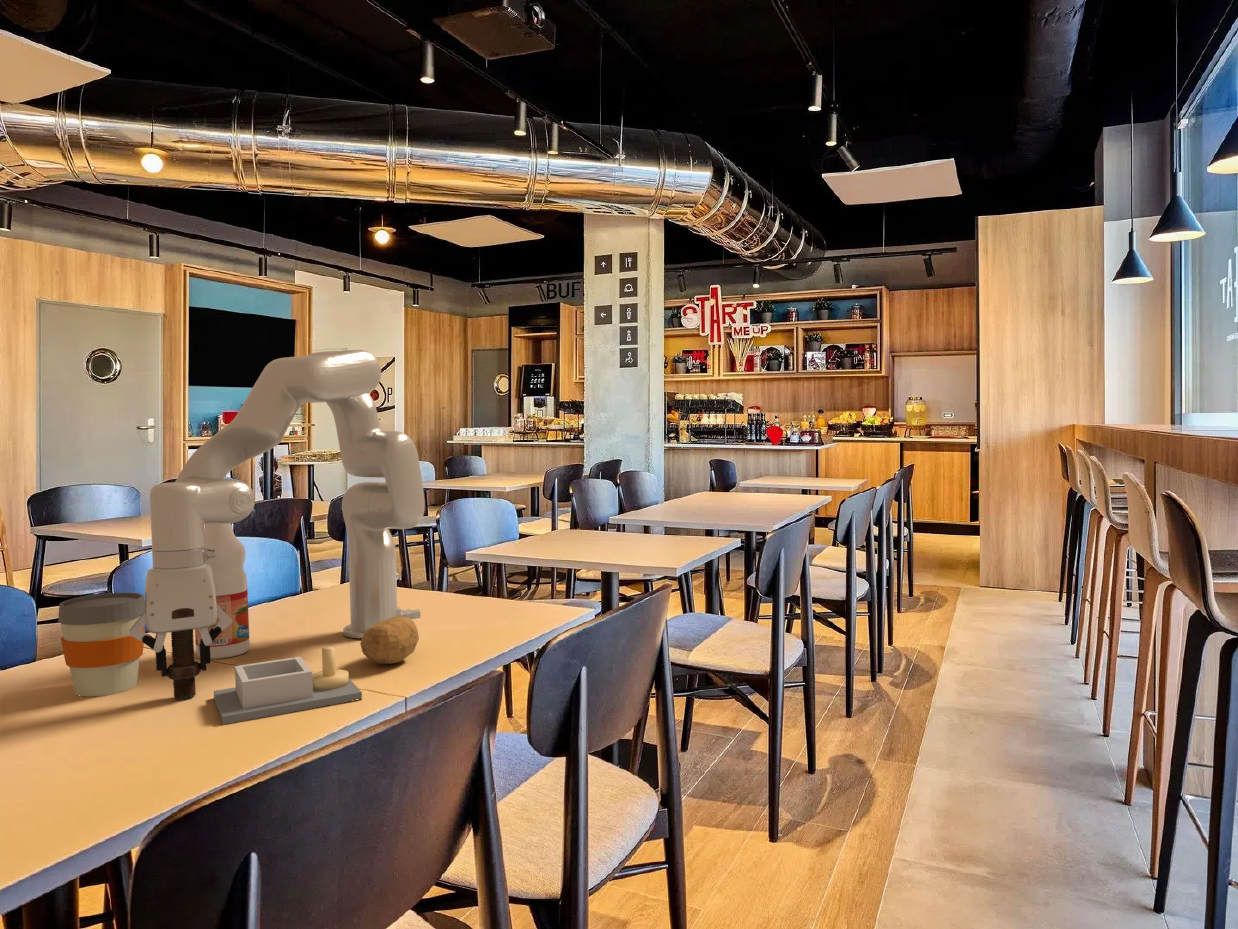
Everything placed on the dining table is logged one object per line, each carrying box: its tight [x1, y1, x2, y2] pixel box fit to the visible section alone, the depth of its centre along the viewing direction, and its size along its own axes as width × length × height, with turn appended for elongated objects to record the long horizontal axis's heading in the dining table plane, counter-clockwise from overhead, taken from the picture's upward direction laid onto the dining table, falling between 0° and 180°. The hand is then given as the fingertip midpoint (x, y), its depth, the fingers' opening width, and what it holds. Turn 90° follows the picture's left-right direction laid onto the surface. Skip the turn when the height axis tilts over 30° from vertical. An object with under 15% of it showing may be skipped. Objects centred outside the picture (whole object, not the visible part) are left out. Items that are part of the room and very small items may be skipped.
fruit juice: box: [194, 523, 251, 660], centre depth 160 cm, size 9×9×28 cm
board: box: [213, 646, 363, 725], centre depth 133 cm, size 20×14×7 cm
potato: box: [359, 616, 420, 665], centre depth 153 cm, size 10×14×8 cm
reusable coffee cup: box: [57, 592, 146, 698], centre depth 139 cm, size 13×12×15 cm
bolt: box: [165, 608, 202, 701], centre depth 134 cm, size 6×5×15 cm
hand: (183, 670), depth 134 cm, fingers closed on bolt, 5 cm apart
